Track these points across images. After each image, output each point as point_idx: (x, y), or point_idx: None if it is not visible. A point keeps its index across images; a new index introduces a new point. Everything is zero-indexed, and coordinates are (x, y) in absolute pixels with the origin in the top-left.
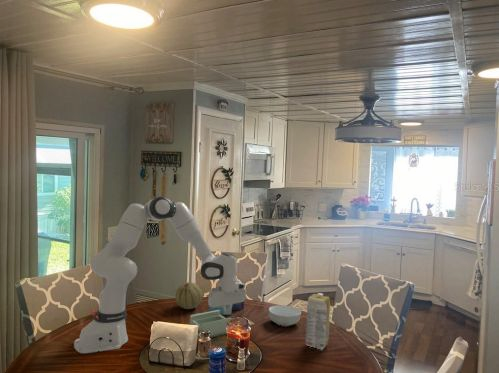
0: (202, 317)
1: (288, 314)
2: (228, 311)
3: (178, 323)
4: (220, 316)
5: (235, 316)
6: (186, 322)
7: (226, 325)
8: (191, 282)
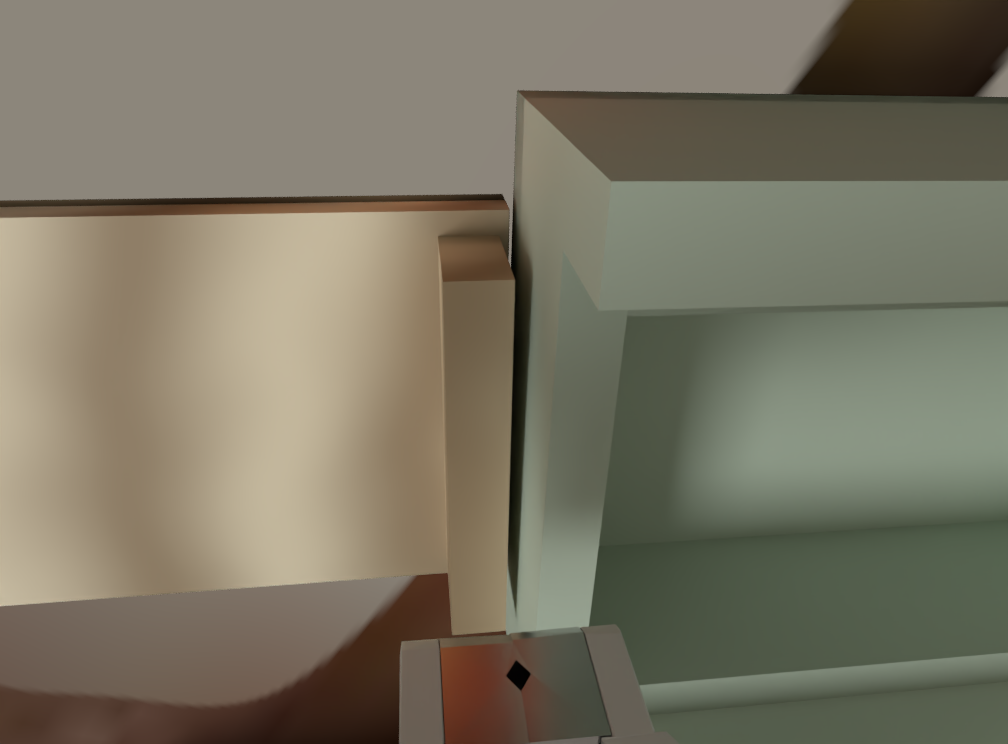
0: (984, 697)
1: None
2: (486, 683)
3: None
4: None
5: (49, 716)
6: None
7: (775, 130)
8: None
